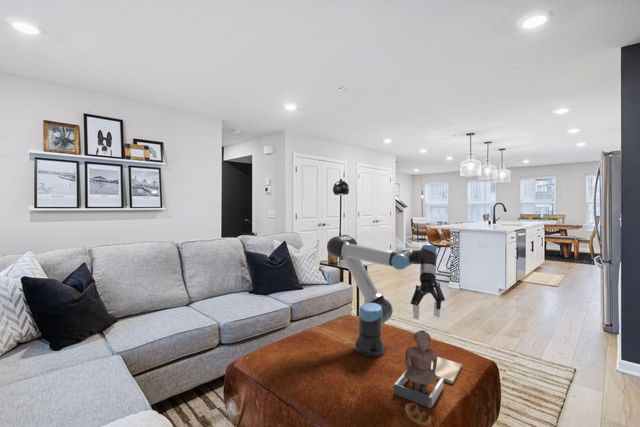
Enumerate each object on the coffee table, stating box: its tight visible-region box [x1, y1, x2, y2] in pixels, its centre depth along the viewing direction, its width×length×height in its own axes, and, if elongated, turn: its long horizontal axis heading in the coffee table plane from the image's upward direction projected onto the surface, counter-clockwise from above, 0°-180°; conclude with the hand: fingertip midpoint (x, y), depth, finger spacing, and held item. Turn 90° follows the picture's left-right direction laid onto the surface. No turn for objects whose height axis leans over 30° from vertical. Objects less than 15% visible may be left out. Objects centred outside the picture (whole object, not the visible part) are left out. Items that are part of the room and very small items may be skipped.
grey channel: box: [393, 369, 445, 409], centre depth 132 cm, size 15×17×4 cm
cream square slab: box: [431, 356, 463, 385], centre depth 149 cm, size 16×18×2 cm
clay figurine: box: [403, 330, 438, 394], centre depth 132 cm, size 13×10×25 cm
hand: (426, 317), depth 149 cm, fingers open, 13 cm apart
